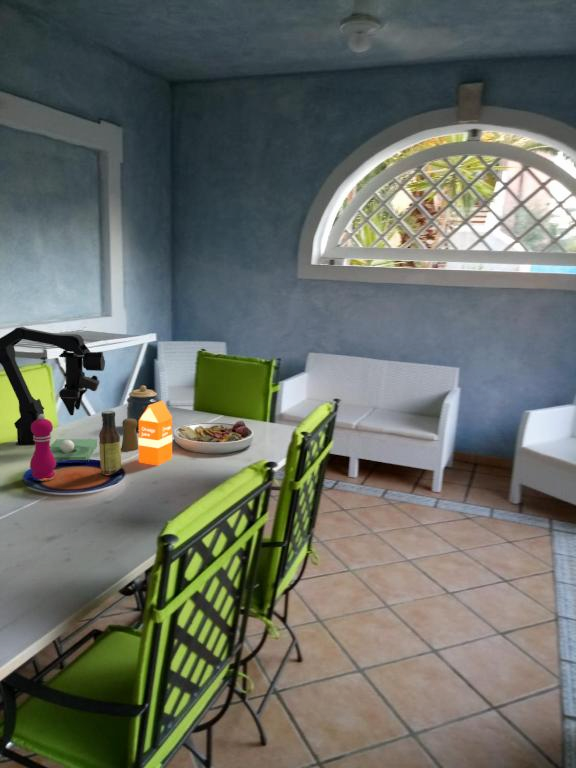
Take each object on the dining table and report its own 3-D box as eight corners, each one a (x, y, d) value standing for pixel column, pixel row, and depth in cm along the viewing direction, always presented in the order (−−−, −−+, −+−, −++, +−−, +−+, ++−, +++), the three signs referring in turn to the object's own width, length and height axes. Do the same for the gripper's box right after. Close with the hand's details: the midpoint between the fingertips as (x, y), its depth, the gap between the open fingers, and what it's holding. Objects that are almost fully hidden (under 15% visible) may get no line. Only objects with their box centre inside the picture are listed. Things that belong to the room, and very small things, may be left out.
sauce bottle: (125, 471, 182) (124, 410, 178) (113, 477, 176) (112, 415, 172) (107, 468, 184) (107, 408, 180) (95, 474, 178) (94, 412, 174)
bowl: (201, 461, 196) (201, 439, 195) (159, 441, 219) (159, 421, 217) (269, 448, 216) (269, 427, 214) (224, 430, 238) (224, 412, 237)
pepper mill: (31, 483, 168) (28, 417, 165) (29, 476, 174) (27, 412, 171) (57, 480, 171) (55, 415, 168) (55, 473, 178) (53, 410, 174)
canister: (134, 422, 243) (134, 381, 240) (163, 424, 241) (163, 383, 238) (121, 430, 230) (121, 387, 227) (152, 432, 229) (152, 389, 226)
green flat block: (56, 445, 206) (56, 439, 205) (97, 445, 208) (97, 439, 208) (41, 464, 185) (41, 456, 185) (86, 464, 188) (86, 456, 187)
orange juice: (138, 462, 192) (138, 404, 188) (153, 455, 200) (153, 399, 196) (158, 465, 189) (158, 406, 186) (172, 458, 197) (173, 401, 194)
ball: (63, 436, 194) (65, 447, 196) (56, 443, 190) (58, 454, 192) (76, 438, 194) (77, 449, 196) (69, 445, 190) (70, 456, 192)
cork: (133, 451, 203) (133, 421, 201) (118, 449, 204) (117, 420, 202) (141, 447, 209) (141, 417, 207) (126, 445, 210) (126, 416, 208)
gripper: (92, 374, 197) (92, 418, 199) (102, 366, 215) (102, 407, 217) (58, 373, 195) (59, 418, 198) (71, 365, 213) (72, 406, 216)
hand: (74, 412), depth 207 cm, fingers open, 9 cm apart
